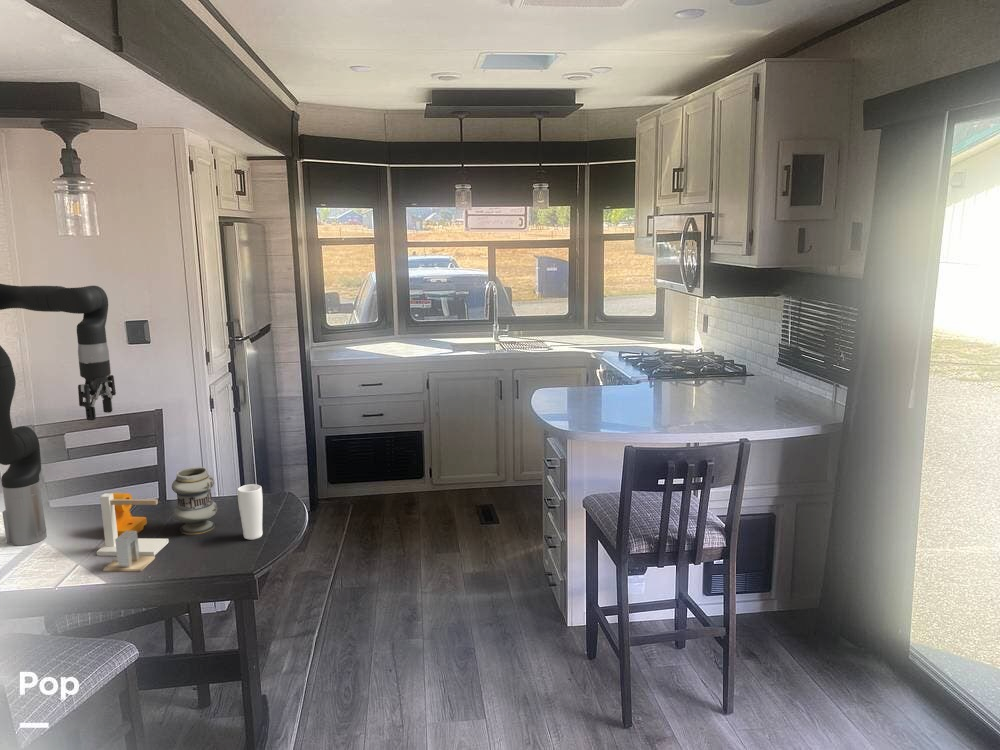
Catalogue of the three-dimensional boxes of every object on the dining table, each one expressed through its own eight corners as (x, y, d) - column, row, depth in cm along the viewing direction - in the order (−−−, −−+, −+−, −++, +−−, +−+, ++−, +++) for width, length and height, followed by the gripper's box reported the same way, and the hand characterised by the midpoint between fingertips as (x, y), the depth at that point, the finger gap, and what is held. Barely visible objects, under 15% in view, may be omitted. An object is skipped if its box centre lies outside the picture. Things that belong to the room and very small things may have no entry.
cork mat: (103, 571, 204) (103, 569, 204) (119, 558, 212) (118, 556, 212) (140, 571, 204) (140, 569, 204) (155, 558, 212) (154, 556, 211)
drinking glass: (255, 542, 221) (252, 493, 218) (236, 539, 223) (232, 490, 220) (270, 533, 228) (266, 485, 225) (250, 530, 230) (247, 482, 227)
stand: (97, 555, 213) (90, 500, 210) (113, 542, 222) (108, 489, 219) (154, 555, 213) (148, 501, 210) (168, 542, 222) (163, 489, 219)
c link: (118, 567, 205) (115, 539, 203) (128, 558, 210) (125, 530, 209) (129, 567, 205) (126, 539, 203) (139, 558, 210) (136, 530, 209)
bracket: (128, 539, 224) (123, 500, 222) (104, 539, 225) (100, 500, 222) (148, 525, 235) (144, 487, 232) (125, 524, 235) (121, 487, 233)
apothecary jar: (170, 527, 233) (164, 470, 229) (209, 517, 240) (204, 462, 237) (184, 539, 224) (179, 480, 220) (225, 528, 231) (220, 471, 228)
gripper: (95, 354, 219) (100, 409, 223) (65, 363, 206) (71, 422, 209) (120, 354, 219) (126, 410, 222) (93, 364, 205) (99, 423, 209)
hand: (99, 416), depth 216 cm, fingers open, 8 cm apart
